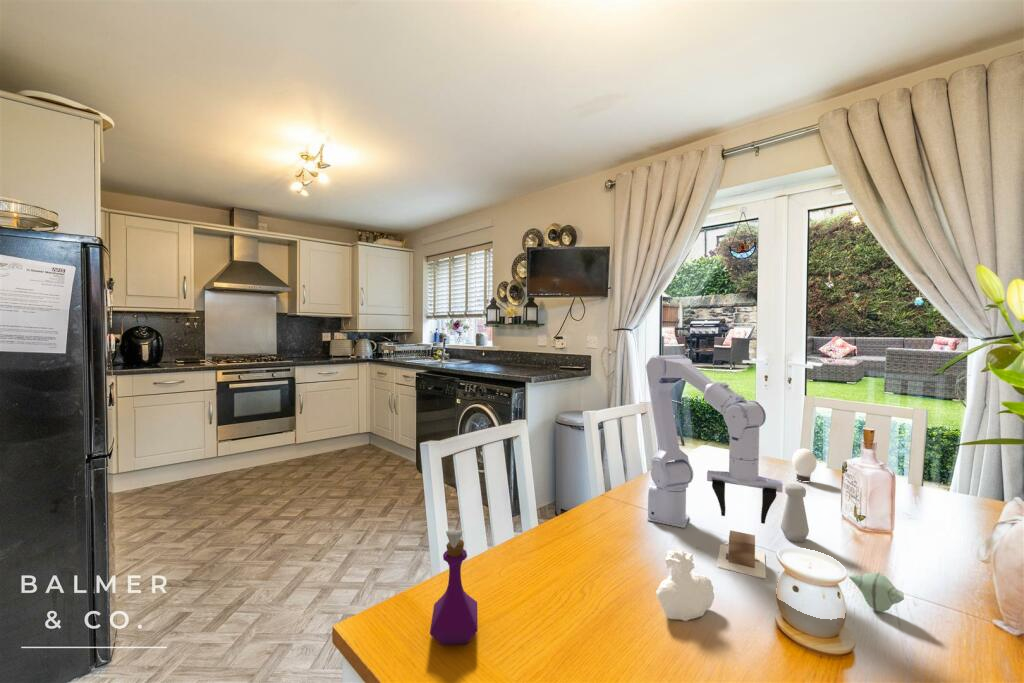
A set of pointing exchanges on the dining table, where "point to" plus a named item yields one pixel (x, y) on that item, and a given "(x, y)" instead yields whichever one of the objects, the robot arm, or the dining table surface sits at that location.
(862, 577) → the green seashell
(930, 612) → the dining table surface
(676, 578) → the bust
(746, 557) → the block
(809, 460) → the light bulb
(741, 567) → the label tile
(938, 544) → the dining table surface
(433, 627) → the perfume bottle
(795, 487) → the salt shaker
